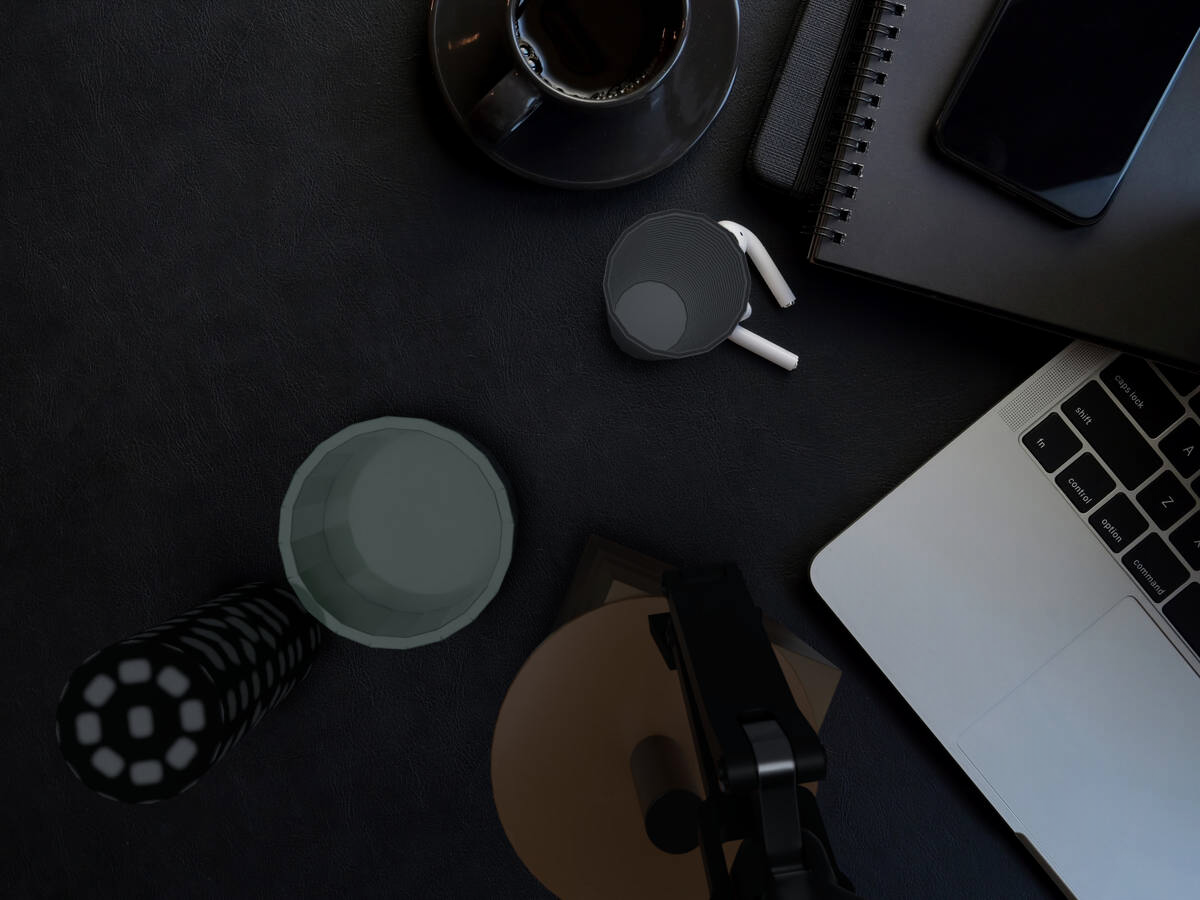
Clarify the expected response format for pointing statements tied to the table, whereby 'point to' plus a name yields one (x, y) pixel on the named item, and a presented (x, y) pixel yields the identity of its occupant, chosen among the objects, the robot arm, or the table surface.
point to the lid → (606, 762)
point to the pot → (398, 531)
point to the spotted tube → (183, 692)
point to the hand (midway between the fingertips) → (701, 779)
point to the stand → (631, 574)
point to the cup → (675, 286)
